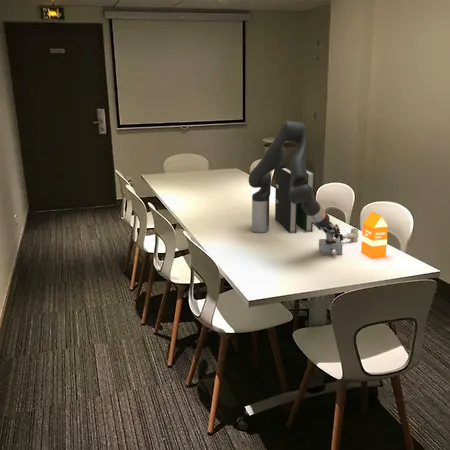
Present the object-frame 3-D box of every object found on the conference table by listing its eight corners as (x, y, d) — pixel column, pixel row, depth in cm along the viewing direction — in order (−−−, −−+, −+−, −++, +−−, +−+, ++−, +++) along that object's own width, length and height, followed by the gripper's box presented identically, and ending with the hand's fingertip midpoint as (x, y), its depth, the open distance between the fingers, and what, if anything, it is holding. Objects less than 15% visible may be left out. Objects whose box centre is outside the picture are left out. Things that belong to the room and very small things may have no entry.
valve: (353, 239, 249) (333, 242, 244) (353, 226, 247) (334, 229, 243) (361, 243, 243) (341, 246, 239) (362, 230, 241) (342, 233, 237)
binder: (313, 231, 261) (316, 173, 252) (287, 233, 259) (288, 174, 250) (298, 218, 287) (299, 164, 278) (273, 219, 285) (274, 165, 276)
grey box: (324, 258, 223) (325, 247, 221) (318, 248, 235) (319, 239, 234) (344, 257, 223) (344, 247, 221) (337, 248, 235) (337, 238, 234)
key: (327, 251, 229) (326, 225, 225) (325, 248, 232) (325, 223, 229) (334, 250, 229) (334, 225, 225) (332, 248, 232) (332, 222, 229)
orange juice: (371, 258, 221) (374, 216, 216) (360, 252, 229) (363, 211, 224) (386, 256, 223) (389, 215, 218) (375, 250, 232) (378, 210, 226)
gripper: (334, 211, 215) (349, 232, 225) (309, 205, 225) (325, 225, 236) (326, 225, 213) (341, 245, 224) (301, 218, 224) (317, 238, 234)
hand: (333, 235), depth 230 cm, fingers open, 4 cm apart
